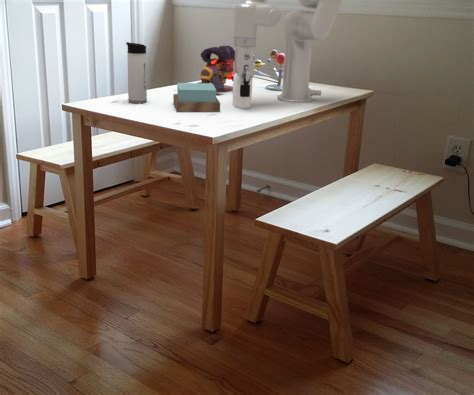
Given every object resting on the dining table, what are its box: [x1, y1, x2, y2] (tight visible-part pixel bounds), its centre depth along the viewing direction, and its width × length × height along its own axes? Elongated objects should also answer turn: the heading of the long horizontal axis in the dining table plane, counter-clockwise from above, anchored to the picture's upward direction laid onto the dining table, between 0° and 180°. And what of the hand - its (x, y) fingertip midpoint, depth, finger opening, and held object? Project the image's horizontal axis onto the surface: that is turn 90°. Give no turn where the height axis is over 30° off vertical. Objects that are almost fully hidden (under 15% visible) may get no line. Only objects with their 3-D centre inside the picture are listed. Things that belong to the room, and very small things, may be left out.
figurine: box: [197, 45, 236, 93], centre depth 239 cm, size 20×14×17 cm
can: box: [232, 70, 254, 109], centre depth 214 cm, size 6×6×12 cm
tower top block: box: [176, 82, 217, 103], centre depth 209 cm, size 12×12×4 cm
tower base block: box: [172, 93, 221, 113], centre depth 210 cm, size 14×14×4 cm
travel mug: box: [125, 41, 148, 105], centre depth 213 cm, size 6×7×20 cm
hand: (241, 93), depth 214 cm, fingers open, 9 cm apart
